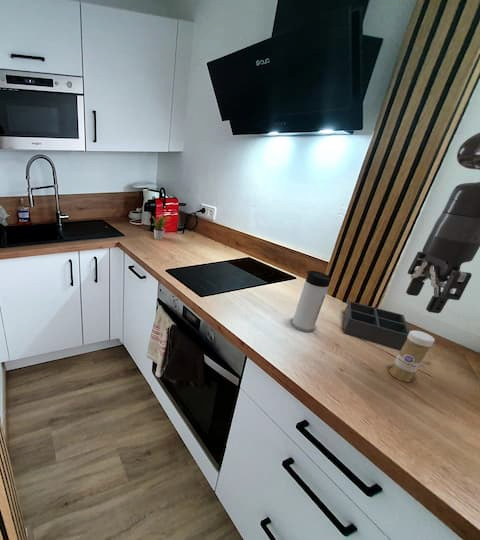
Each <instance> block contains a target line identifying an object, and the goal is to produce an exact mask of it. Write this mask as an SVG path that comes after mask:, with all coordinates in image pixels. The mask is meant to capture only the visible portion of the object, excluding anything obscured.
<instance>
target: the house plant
mask: <svg viewBox="0 0 480 540" xmlns="http://www.w3.org/2000/svg"><path fill="white" fill-rule="evenodd" d="M158 216H159V218H158V219H157V218H155V216H153V215H151V217H152V219H153V223H151V226H154V229H153V234H154V240H156V241H162V240H163V239H164V237H165V233H166V230H165V228H166V227H167V226H169V225H170V224H167V223H166V222H168V221H169V218H170V217H169V216H170V215H168V216H166V217H165V218H163V214H158Z"/></svg>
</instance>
